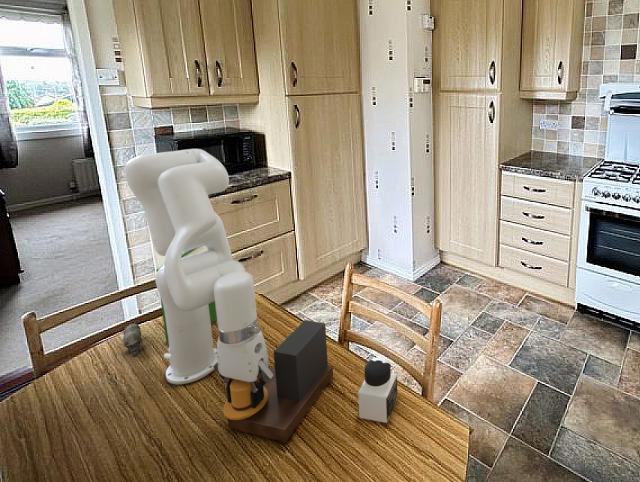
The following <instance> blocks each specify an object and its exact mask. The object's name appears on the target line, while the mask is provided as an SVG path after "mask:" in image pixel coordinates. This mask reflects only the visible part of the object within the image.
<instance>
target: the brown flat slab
mask: <svg viewBox="0 0 640 482" xmlns="http://www.w3.org/2000/svg"><path fill="white" fill-rule="evenodd" d="M270 371H271V372H272V373H273V374H274V376H273V378H272V379H271V380H270V381H269V382H267V383H266V384H265V385H264V387H265V388H266V389H267V391H268V399H267V402H266V403H265V405H264V406H263V407H262V408H261V409H260V410H259V411H258V412H257V413H255V414H253V415H252V416H250V417H247V418H245V419H241V420H231V419H228V418H227V425H228V428H232V430H234V431H235V430H236V431H239V432H242V433H247V434H249V435H254V436H257V437H262V438H265V439H269V440H273V441H277V442H280V443H284V444H286V443H287V442H288V441H289V439H290V438H291V437H292V434H293V433H294V431H295V430H296V428H297V427H298V426H299V424H300V423H301V421H302V420H303V419H304V417H305V416H306V415H307V413H308V412H309V410H310V409H311V408H312V406H313V405H314V403H315V402H316V401H317V399H318V398H319V396H320V395H321V394H322V392H323V391H324V389H325V388H326V387H327V386H328V385H329V383H331V381H332V379H333V377H334V366H333V365H332V364H328V365H327V366H326V367H325V369H324V370H323V371H322V373H321V374H320V375H319V376H318V378H317V379H316V380H315V382H314V383H313V384H312V386H311V387H310V388H309V390H308V391H307V392H306V393H305V395H304V396H303V397H302V399H301V400H300V401H295V400H290V399H286V398H282V397H277V387H276V375H275V364H274V365H273V366H272V367H271V369H270Z"/></svg>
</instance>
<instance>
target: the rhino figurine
mask: <svg viewBox="0 0 640 482" xmlns="http://www.w3.org/2000/svg"><path fill="white" fill-rule="evenodd" d="M122 337H123V338H122V341H123V346H124V347H125V348H126V349H127V350H126V351H125V353H127V354H131V355H132V357H133V358H137V357H138V356H139V354H140V351H142V349H143V347H142V346H141V343H142V340H143V339H142V331H141V327H140V325H139V324H137V323H130V324H129V325H127V327H125V328H124V330H123V336H122Z"/></svg>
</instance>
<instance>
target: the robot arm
mask: <svg viewBox="0 0 640 482" xmlns="http://www.w3.org/2000/svg"><path fill="white" fill-rule="evenodd" d="M124 174H125V175H124V176H125V180H126V183H127V185H128V188H129V189H130V191H131V192H132V194H133V196H134V197H135V198H136V200H138V202H139V203H140V205H141V207H142V208H143V211H144V215H145V218H146V222H147V226H148V229H149V234H150V237H151V240H152V244H153V247H154V250H155V252H156V253H157V254H158V255H159V256H161V257H164V259H163V265H164V266H163V265H162V266H163V267H161V266H160V267H161V268H160V269H159V270H158V272H157V271H156V273H155V277H154V278H155V279H154V280H155V284H156V285H155V286H156V288H157V291H158V293H159V298H160V297H161V299H162V303H163V307H164V312H165V319H166V325H167V333H168V340H169V344H168V346H169V347H168V349H167V352H166V353H164V355H163V359H165V360H168V361H169V366H168V367H167V368H166V371H165V378H166V381H167V382H168V383H170V384H172V385H185V384H190V383H193V382H196V381H198V380H201V379H203V378H205V377H206V376H208V375H209V374H211V373H212V372H213V371H216V372H217V374H218V375H219V378H220V379H221V380H222V384H223V386H224V387H225V392H226V398H227V399H226V401H227V400H228V402H232V400H231V391H230V384H231V382H232V381H233V379H237V380H242V381H247V382H249V384H250V386H251V389H252V392H251V393H250V396H251V405H252V408H256V407H257V405H258V404H259V403H260V402H261V401H262V400H263V399H264V389H263V386H264V385H265V384H266V383H267V382H269V381H270V380H271V379H272V378H273V376H274V374H273V373H272V372H271V371H270V370H271V369H270V362H269V353H268V348H267V344H266V340H265V337H264V333H263V332H262V330H261V327H260V326H259V324H258V314H257V313H258V312H257V311H258V310H257V304H256V303H257V301H256V292H255V281H254V277H253V275H252V274H251V273H249V272H248V271H246V268H245V266H244V265H243V264H242V263H241V262H239V261H238V260H235V259H234V258H233V255H232V251H231V247H230V243H229V240H228V236H227V231H226V229H225V228H226V227H225V225H224V222H223V220H222V219H221V217H220V216H219V215H218V213H216V212H215V210H214V207H213V205H212V203H211V200H210V198H209V195H213V194H214V195H215V194H218V193H221V192H224V191H226V190H227V189H228V187H229V185H230V177H229V173H228V171H227V168H226V167H225V165H223V164H222V162H221V161H220V160H219V159H217V158H216V157H215V156H214V155H212V154H210V153H209V152H207V151H206V150H204V149H201V148H188V149H187V148H186V149H181V150H180V149H179V150H171V151H163V152H155V153H149V154H143V155H139V156H136V157H134V158H131V159H130V160H128V162H126V164H125V167H124ZM201 246H205V247H206V248H207V250H206V251H203V252H199V253H196V254H193V255H190V256H187V257H184V258H181V256H182V253H184V252H186V251H189V250H192V249H195V248H198V247H201ZM161 299H160V300H161ZM214 301H215V306H216V315H217V319H216V323H217V331H218V337H217V344H216V347H217V348H216V347H214V339H213V331H212V324H211V322H210V313H209V305H208V304H209V303H212V302H214ZM257 378H258V381H259V382H258V383H257V384H256V382H255V381H256V380H257Z"/></svg>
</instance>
